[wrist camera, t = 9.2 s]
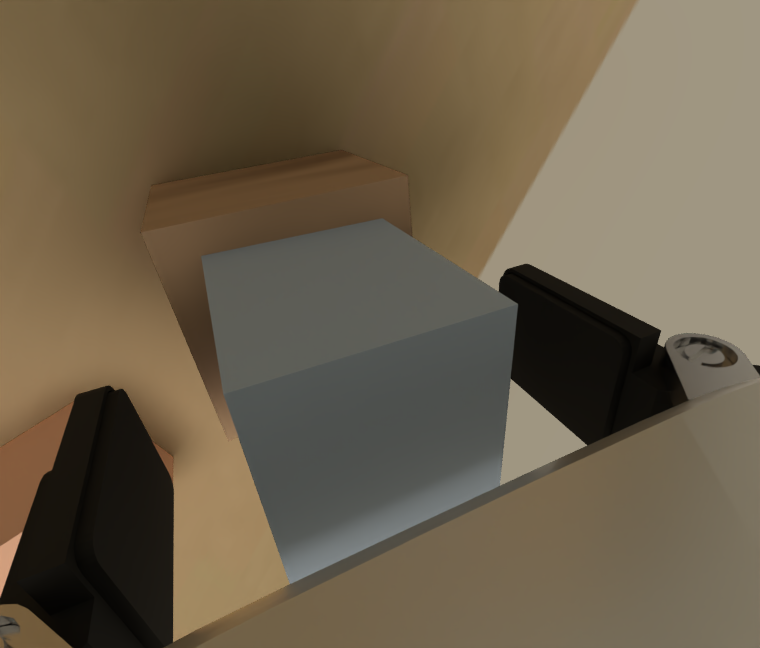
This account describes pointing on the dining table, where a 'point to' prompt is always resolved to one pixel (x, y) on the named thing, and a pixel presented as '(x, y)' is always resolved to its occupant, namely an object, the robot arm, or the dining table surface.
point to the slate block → (359, 383)
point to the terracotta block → (31, 478)
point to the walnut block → (256, 229)
